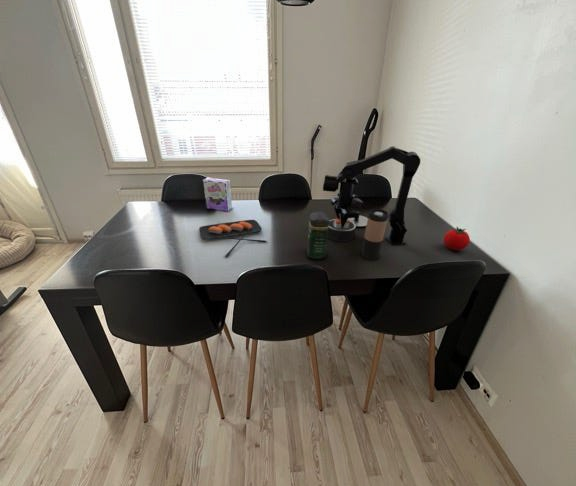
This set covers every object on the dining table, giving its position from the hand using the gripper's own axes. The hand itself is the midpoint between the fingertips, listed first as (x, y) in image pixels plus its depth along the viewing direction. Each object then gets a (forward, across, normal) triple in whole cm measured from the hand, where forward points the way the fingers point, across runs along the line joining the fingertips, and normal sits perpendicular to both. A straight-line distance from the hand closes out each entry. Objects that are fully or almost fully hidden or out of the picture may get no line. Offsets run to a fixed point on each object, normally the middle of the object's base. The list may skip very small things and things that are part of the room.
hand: (341, 224), depth 140 cm
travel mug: (+6, -21, -6) cm, 23 cm away
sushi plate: (+6, +4, +51) cm, 52 cm away
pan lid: (+5, +13, -14) cm, 20 cm away
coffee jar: (+6, -16, +17) cm, 24 cm away
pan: (+6, 0, 0) cm, 6 cm away
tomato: (+6, -22, -47) cm, 52 cm away
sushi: (+1, 0, 0) cm, 1 cm away
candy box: (+6, +43, +57) cm, 72 cm away
